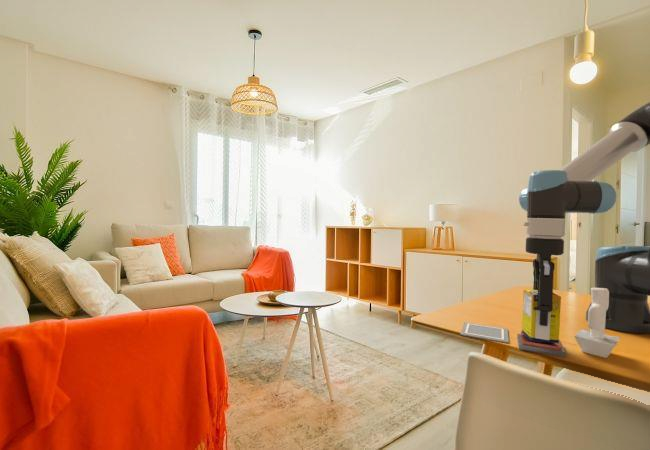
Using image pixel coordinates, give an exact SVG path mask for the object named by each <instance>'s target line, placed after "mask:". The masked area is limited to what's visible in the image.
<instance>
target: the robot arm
mask: <svg viewBox="0 0 650 450" xmlns="http://www.w3.org/2000/svg"><path fill="white" fill-rule="evenodd" d="M648 145H650V101H649V102H647V103H645V104H643V105H641V106H640V107H638V108H637V109H636V110H634V111H632V112H631V113H629V114H628V115H626V116H625V117H623V118H622V119H621V120H619V121H618V122H616V123H615V124H614V125H613V126H612V127H610V129H609V132H608V134H606V135H605V136H603V137H602V138H601V139H599V140H598V141H597V142H595V143H593V145H591V146H590V147H588V148H587V149H585V151H583V152H581V154H579V155H577V157H575V158H573V159H572V160H571V161H570V162H568V163H567V164H566V165H564V166H563V167H561V168H560V169H549V170H548V169H547V170H538V171H534V172H532V173H530V175H529V178H528V184H527V187H525V188H523V189H522V190H521V192H520V194H519V197H518V201H519V205H520V208H521V209H522V210H524V211H525V212H526V215H527V216H526V219H527V220H526V221H527V222H526V221H525V222H523V226H524V227H526V235H527V236H528V237H526V238H525V252H526V253H528V254H532V255H536V258H534V260H533V261H532V267H533V285H532V286H533V287H532V290H538V303H537V307H534V310H536V326H535V338H538V339H544V340H549V338H550V317H551V311H552V310H553V307H552V300H553V293H554V272H555V268H556V267H555V262H553V261H552V257H553V256H562V255H563V254H564V252H565V251H564V250H565V249H564V247H565V240H564V239H563V237H564V236H565V235H566V234H565V232H566V215H567V213H568V214H570V213H571V214H577V213H578V214H593V215H594V214H602V213H606V212H609V210H611V209H612V208H613V207H614V206H615V204H616V201H617V191H616V189H615V187H613V185H612V184H610V183H608V182H605V181H597V180H595V179H596V178H598V177H599V176H600V175H602V174H603V173H604V172H606V171H607V170H609V169H610V168H611V167H613V166H614V165H615V164H617V163H619V161H621V160H622V159H624V158H625V157H626V156H628V155H629V154H631V153H635V152H638V151H642V149H644V148H645V147H647V146H648ZM594 261H595V265H594V267H595V269H594V277H595V278H594V288H606V289H608V291H609V306H608V310H607V311H606V320H605V329H609V330H613V331H618V332H619V331H620V332H623V333H624V332H625V333H633V334H650V306H649V303H648V297H650V246H648V245H629V246H628V245H626V246H625V245H624V246H622V245H621V246H620V245H615V246H602V247H599V248H598V249H597V250H596V258H595V260H594ZM543 304H547V305H543ZM591 304H592V300H591V301H590V303H589V305H588V307H587V309H586V311H585V320H586V321H587V322H588V311H589V308H590V307H591Z"/></svg>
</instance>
